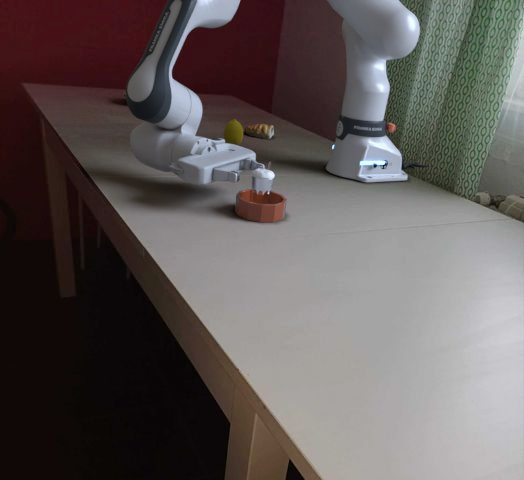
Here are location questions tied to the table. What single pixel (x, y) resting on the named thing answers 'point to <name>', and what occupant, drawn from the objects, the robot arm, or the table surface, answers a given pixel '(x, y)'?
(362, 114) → the robot arm
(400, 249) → the table surface
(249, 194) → the orange round shallow bowl
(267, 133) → the pastry
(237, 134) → the lemon
